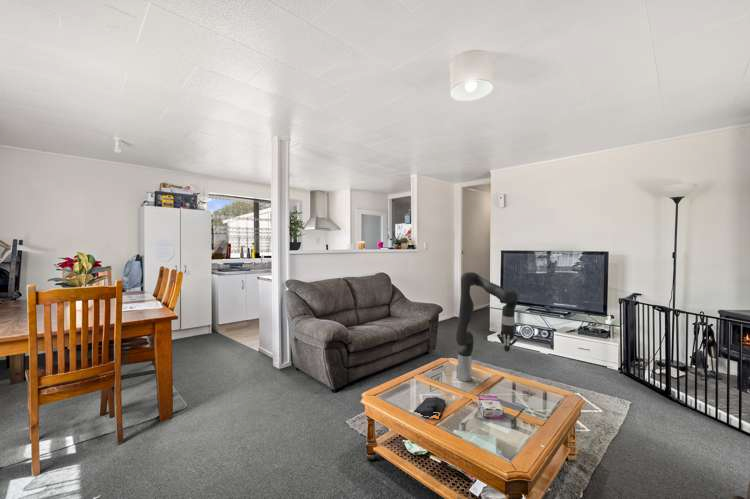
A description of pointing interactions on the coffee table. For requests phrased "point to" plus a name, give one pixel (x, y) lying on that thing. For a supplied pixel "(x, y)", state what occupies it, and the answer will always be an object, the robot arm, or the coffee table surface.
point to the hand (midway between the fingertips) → (507, 351)
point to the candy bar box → (490, 406)
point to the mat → (512, 406)
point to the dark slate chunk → (430, 406)
